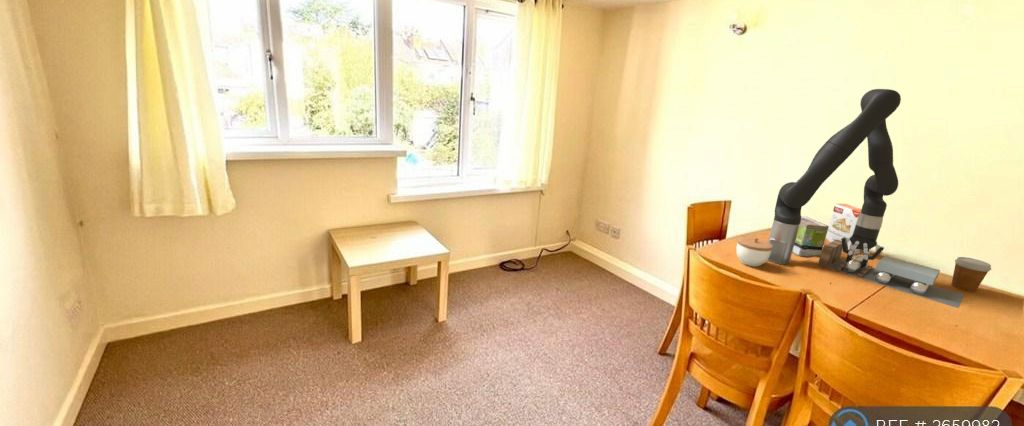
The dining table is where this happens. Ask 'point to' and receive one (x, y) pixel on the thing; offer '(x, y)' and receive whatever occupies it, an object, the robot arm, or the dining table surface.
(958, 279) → the disposable coffee cup
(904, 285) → the mat
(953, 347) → the dining table surface
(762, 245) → the lidded bowl
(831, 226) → the cracker box
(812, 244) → the tea box
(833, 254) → the wooden stops
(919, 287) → the bed rollers
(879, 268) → the slab
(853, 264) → the roller
